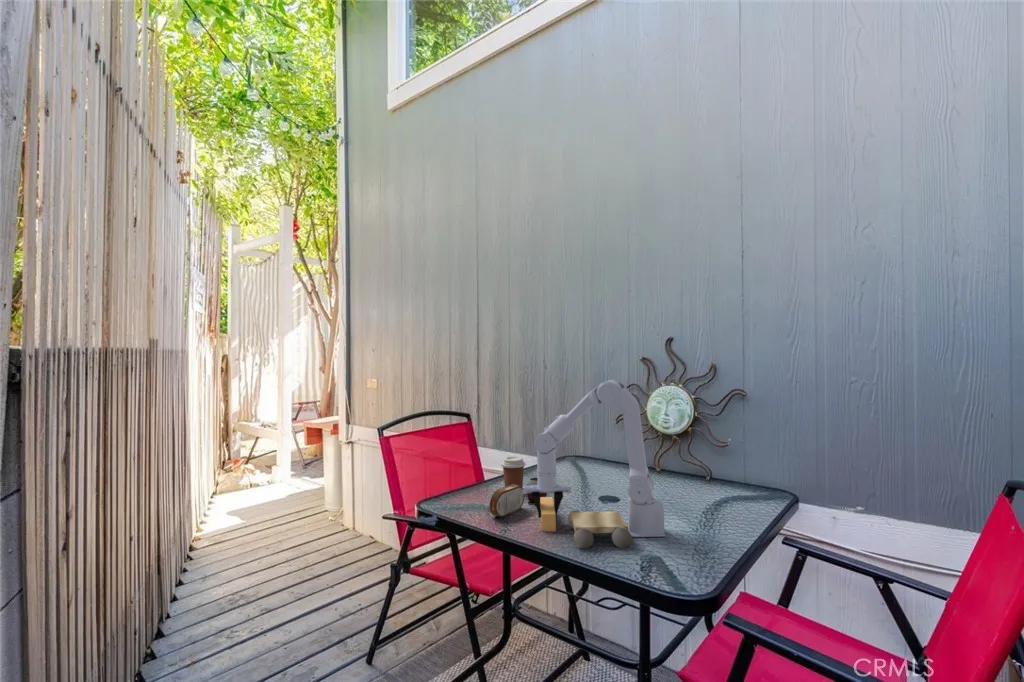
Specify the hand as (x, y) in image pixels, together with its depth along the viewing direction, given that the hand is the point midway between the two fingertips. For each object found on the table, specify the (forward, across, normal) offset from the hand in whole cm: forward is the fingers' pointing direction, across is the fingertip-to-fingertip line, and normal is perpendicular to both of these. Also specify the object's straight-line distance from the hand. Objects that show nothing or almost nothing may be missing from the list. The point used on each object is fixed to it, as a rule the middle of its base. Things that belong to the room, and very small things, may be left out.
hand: (547, 516), depth 148 cm
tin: (+2, +12, -8) cm, 15 cm away
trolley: (+1, -13, +13) cm, 18 cm away
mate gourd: (+2, +2, -18) cm, 18 cm away
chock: (+2, 0, 0) cm, 2 cm away
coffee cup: (+2, +10, -32) cm, 34 cm away
